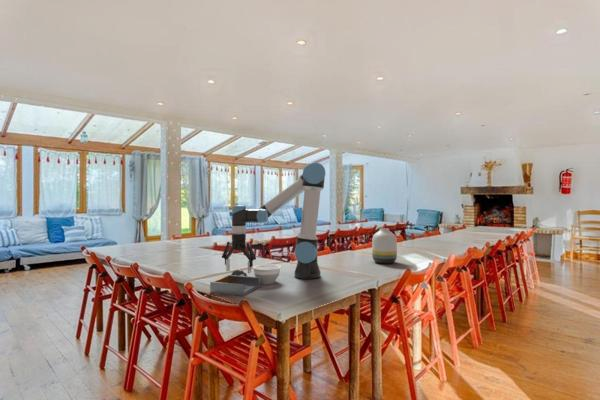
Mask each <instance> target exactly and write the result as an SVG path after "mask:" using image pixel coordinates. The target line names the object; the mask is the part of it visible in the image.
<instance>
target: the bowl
mask: <svg viewBox="0 0 600 400" xmlns="http://www.w3.org/2000/svg"><path fill="white" fill-rule="evenodd" d="M252 269H253V273H254V277H260V285H269V284H270V285H271V284H274V283H276V280H277V279H278V277H279V275H280V271H281V270H280V269H282V265H280V264H276V263H275V264H272V263H264V264H256V265H253V266H252V267H251V270H252Z"/></svg>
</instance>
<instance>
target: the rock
mask: <svg viewBox="0 0 600 400" xmlns="http://www.w3.org/2000/svg"><path fill="white" fill-rule="evenodd" d="M247 274H248V273H247V272H245V271H243V270H238V269H237V270H234V271H232V273H230V275H236V276H248V275H247Z"/></svg>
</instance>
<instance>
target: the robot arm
mask: <svg viewBox="0 0 600 400" xmlns="http://www.w3.org/2000/svg"><path fill="white" fill-rule="evenodd" d="M325 178H326V169H325V167H324V165H323V164H322V163H319V162H316V161H311V162H309V163H307V164H306V165H305V166H304V167H303V170H302V174H301V175H299V176H298V179H296V181H294V182H293V183H291V184H290V185H289V186H288V187H286V188H285V189H283V190H281V192H280V193H278V194H276V195H275V196H273V198H271V199H270V200H269V201H267V202H266V203H264V204H263V205H262V206H260V207H259V208H247V206H246V205H241V204H239V205H233V206H232V208H231V209H232V210H231V233H232V234H231V240H229V241H227V242H226V246H225V248H224V250H223V253H222V255H221V258H222V259H224V265H225V272H230V270H231V268H230V267H231V262H230V261H231V259H230V257H231V256H232V254H233V253H234V251H241V252H242V253H243V254H244V256H246V258H247V260H248V261H247V274H251V273H252V267H253V266H254V264H253V262H254V261H256V260H257V257H256V255H255V252H254V249H253V248H252V243H251V242H246V240H247V238H246V236H247V235H246V232H247V231H246V230H247V228H246V227H247V225H246V223H251V224H252V223H253V224H258V223H259V224H264V223H265V224H266V223H267V222H268V220H269V218H270V217H271V216H272V215H274V214H275V213H276V212H278V211H279V210H280V209H282V208H284V207H285V206H286V205H287V204H289V203H290V202H291V201H293V200H294V199H296V198H297V197H298V196H300V195H301V194H302V193H304V194H303V202H302V203H303V204H302V210H301V211H302V212H301V222H300V230H299V234H298V235H297V236H296V241H295V242H296V243H295V248H294V253H293V254H294V257H295V259H296V260H297V261H296V266H295V270H294V277H295V278H296V279H306V280H307V279H308V280H309V279H318V278H320V277H321V270H320V266H319V264H318V243H319V238H318V236H317V229H318V228H317V226H318V217H319V207H320V206H319V205H320V199H321V191H322V190H324V188H325V181H326V180H325ZM231 246H232V247H231ZM230 248H231V249H230Z"/></svg>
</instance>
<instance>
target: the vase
mask: <svg viewBox="0 0 600 400" xmlns="http://www.w3.org/2000/svg"><path fill="white" fill-rule="evenodd" d="M397 239H398V238H397V237H396V235H395V234H394V233H393V232H391V231H390V228H388V227H387V228H385V227H384V228H383V227H382V228H379V230H378V231H377V232H375V233H374V234H373V236H372V240H371V241H372V242H371V243H372V244H371V249H372V251H371V253H372V254H371V255H372V259H373V261H374V262H375V263H377V264H386V265H387V264H393V263H395V262H396V261H397V256H398V255H397V254H398V240H397Z"/></svg>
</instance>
